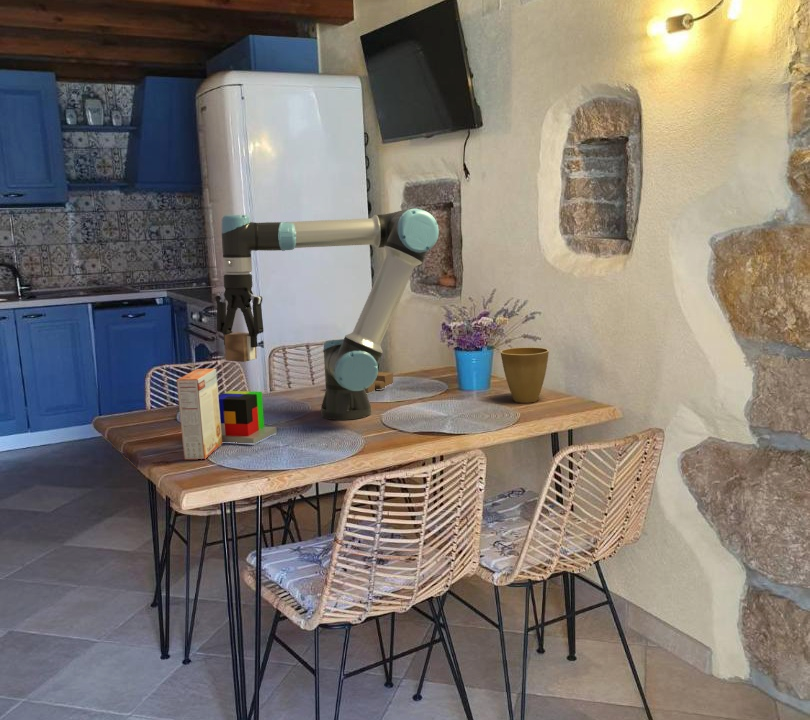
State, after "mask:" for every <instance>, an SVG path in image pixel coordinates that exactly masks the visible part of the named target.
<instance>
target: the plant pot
mask: <svg viewBox="0 0 810 720" xmlns="http://www.w3.org/2000/svg"><path fill="white" fill-rule="evenodd" d="M549 352H550V351H549V349H548V348H544V347H533V346H532V347H531V346H530V347H527V346H526V347H525V346H524V347H511V348H505V349H502V350H500V355H501V356H500V357H501V363H502V367H503V372H504V375H505V378H506V383H507V385H508V389H509V392H510V394H511V396H512V399H513V401H514V402H516V403H520V404H521V403H522V404H524V403H525V404H529V403H531V404H532V403H534V402H537V401H538V400H539V397H540V395H541V392H542V389H543V385H544V381H545V377H546V374H547V373H546V372H547V367H548V363H549V362H548V360H549Z"/></svg>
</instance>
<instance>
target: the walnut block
mask: <svg viewBox="0 0 810 720" xmlns="http://www.w3.org/2000/svg"><path fill="white" fill-rule="evenodd" d="M248 334H249V332H239V331H238V332H232V333H230V334H227V335H223V337H224V336H225V345H224V355H225V356H224V357H225V361H226V362H242V363H245V362H249V361H253V360H254V359H252V360H248V355H247V336H248ZM257 354H258V353H257V347H255V358H256V359H255V360H257V359H258V358H257V357H258V355H257Z"/></svg>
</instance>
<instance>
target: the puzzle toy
mask: <svg viewBox="0 0 810 720" xmlns="http://www.w3.org/2000/svg"><path fill="white" fill-rule="evenodd" d="M218 398H219V409H220V420H221V431H222V435H226V436H250V435H251V434H253V433H255V432H256V431H258V430H260V429H262V428H263V427H264V426H265V417H264V416H265V415H264V404H263V391H249V390H247V391H245V390H243V391H239V390H228V391H226V392H223V393H221V394H218Z"/></svg>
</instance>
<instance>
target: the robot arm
mask: <svg viewBox="0 0 810 720" xmlns="http://www.w3.org/2000/svg"><path fill="white" fill-rule="evenodd" d="M439 230H440V229H439V225H438V221H437V220H436V219H435V217H434V216H433V215H432V214H431V213H429V212H428V211H426V210H424V209H420V208H411V209H402V210H398V211H394V212H389V213H383V214H374V215H373V216H372V217H371V218H351V219H346V218H345V219H328V220H327V219H326V220H324V219H323V220H303V221H302V220H301V221H300V220H299V221H280V222H279V221H278V222H276V221H274V222H272V221H271V222H269V221H267V222H253V221H252V220H251V218H250V216H249V215H248V214H242V215H241V214H227V215H223V217H222V218H221V246H222V248H221V249H222V270H223V273H224V274H223V287H224V293H223V294H220V295H219V294H218V295H216V296H215V297H214V298H215V301H216V330H217V332H218V333H219V332H220V333H221V334H223V345H224V346H225V336H224V335H227V334H232V333H233V331H232V330H233V326H234V321H235V317H236V312H237V310H238V309H240V311H241V313H242V316H243V318H244V322H245V326H246V328H247V331H248V332H247V333H249V334H248V336H247V355H248V360H250V361H253V360H257V359H256V358H255V347H256V348H257V347H258V335H260V334H263V333H264V322H263V321H264V319H263V310H262V303H263V296H260V295H259V296H258V295H255V294H254V293H253V291H252V289H253V275H252V272H253V263H252V251H255V252H257V251H265V252H266V251H270V252H271V251H282V252H284V251H293V250H295V249H301V248H325V247H346V246H347V247H348V246H350V247H351V246H367V245H368V246H370V245H372V246H373V247H375V248H377V249H378V248H383V249H384V250H385V253H386V254H385V258H384V260H383V262H382V264H381V266H380V269H379V272H377V276H376V278H375V281H374V283H373V285H372V287H371V289H370V292H369V295H368V296H367V299H366V301H365V303H364V305H363V308H362V310H361V313H360V314H359V318H358V319H357V322H356V324H355V326H354V328H353V331H352V332H350V333H348V334H346V335H345V336H344V338H343V339H342V338H341V339H329V340H325V341H324V343H323V350H322V352H323V362H324V363H323V364H324V380H325V381H324V382H325V391H324V396H323V400H322V404H321V407H320V408H321V409H320V415H321V417H322V418H324V419H327V420H335V421H337V420H338V421H340V420H341V421H343V420H346V421H347V420H356V419H363V418H365V417H368V416H370V415H371V414H372V405H371V403H370V400H369V397H368V395H367V394H366V391H365V389H366V388H368V387H370V386H371V385H372V384H373V383H374V381H375V380H376V378H377V375H378V372H379V362H380V360H381V358H382V356H383V353H384V351H383V349H382V347H381V345H382V342H383V339H384V337H385V335H386V333H387V330H388V328H389V326H390V324H391V322H392V319H393V317H394V315H395V312H396V310H397V307H398V305H399V303H400V301H401V299H402V296H403V294H404V292H405V290H406V287H407V285H408V283H409V281H410V278H411V275H412V274H413V271H414V269H415V268H416V267H417V266H419V265H422V264H423V262H424V259H425V258H426V256H427V253H428V251H429V250H431V249H432V248H433V247H435V245H436V244H437V241H438V239H439V234H440V233H439V232H440V231H439ZM251 304H252V305H251ZM252 359H253V360H252Z"/></svg>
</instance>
